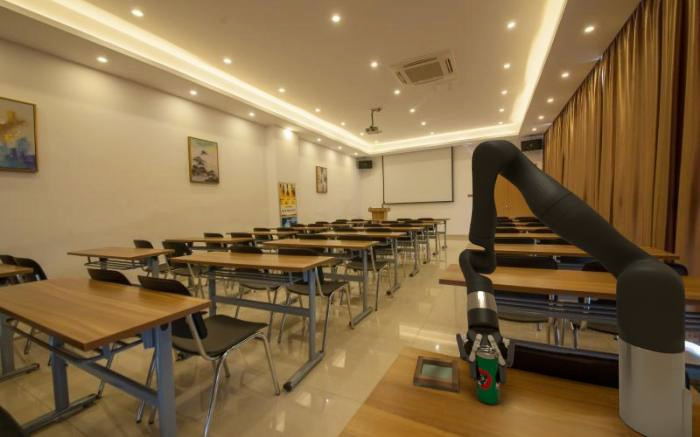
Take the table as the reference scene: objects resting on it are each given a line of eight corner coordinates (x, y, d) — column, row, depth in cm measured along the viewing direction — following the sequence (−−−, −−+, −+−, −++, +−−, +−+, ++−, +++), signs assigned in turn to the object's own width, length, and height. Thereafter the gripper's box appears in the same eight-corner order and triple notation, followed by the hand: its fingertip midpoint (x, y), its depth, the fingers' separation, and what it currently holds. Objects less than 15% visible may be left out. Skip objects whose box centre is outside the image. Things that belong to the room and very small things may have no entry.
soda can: (502, 407, 66) (501, 355, 65) (479, 404, 67) (477, 354, 66) (496, 392, 71) (494, 344, 70) (474, 391, 72) (472, 343, 71)
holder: (458, 368, 82) (457, 360, 82) (458, 392, 71) (458, 383, 71) (418, 363, 85) (418, 355, 85) (413, 385, 75) (413, 376, 75)
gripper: (453, 304, 77) (455, 372, 67) (513, 308, 73) (526, 383, 62) (454, 316, 83) (455, 381, 72) (510, 321, 78) (521, 391, 67)
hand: (488, 382), depth 67 cm, fingers closed on soda can, 5 cm apart
